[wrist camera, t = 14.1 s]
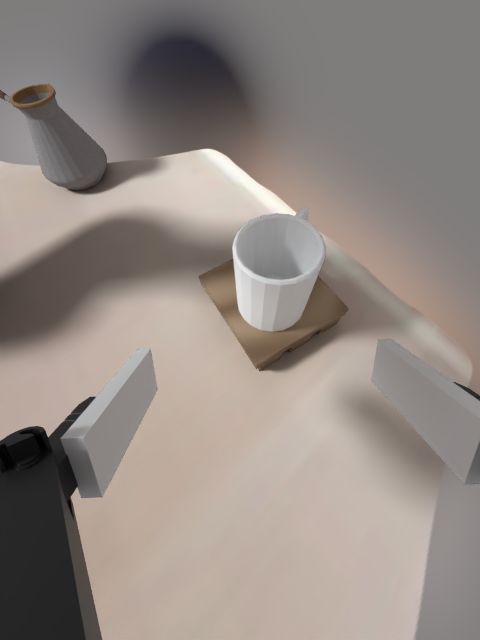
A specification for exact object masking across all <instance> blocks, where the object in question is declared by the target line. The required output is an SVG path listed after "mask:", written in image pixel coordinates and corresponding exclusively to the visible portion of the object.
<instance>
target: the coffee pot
mask: <svg viewBox="0 0 480 640" xmlns="http://www.w3.org/2000/svg"><path fill="white" fill-rule="evenodd" d="M55 94H56V93H55V90H54V88H53V87H52V86H51V85H50V84H40V85H32V86H28V87H25V88H22V89H20V90H19V91H17V92H15V93H14V94H13V95H12V96H11V97H9V96H8V95H6V94H5V93H4V92H2V91H1V90H0V97H1V98H2V99H4V100H6V101H8V102H9V103H11V104H12V105H13V106H14V107H16V108H18V109H19V110H20V111H21V112H22V113H23V114H24V115H25V116H26V119H27V122H28V125H29V128H30V132H31V136H32V139H33V142H34V146H35V149H36V153H37V156H38V159H39V163H40V166H41V170H42V173H43V175H44V176H45V177H46V178H47V179H48V180H49V181H51V182H52V183H54V184H56V185H58V186H61V187H65V188H69V189H72V190H82V189H87V188H90V187H92V186H94V185H95V184H97V183H98V182H99V181H100V180H101V179H102V177H103V174H104V171H105V169H106V166H107V159H106V154H105V152H104V150H103V149H102V148H101V147H100V146H99V145H98V144H97V143H96V142H95V141H94V140H93V139H92V138H91V137H90V136H89V135H88V134H87V133H86V132H84V130H83V129H82V128H80V126H79V125H77V124H76V123H75V122H74V121H73V120H72V119H71V118H70V117H69V116H68V115H67V114H66V113H65V112H64V111H63V110H62V109H61V108H60V107H59V106H58V104H57V101H56V99H55Z"/></svg>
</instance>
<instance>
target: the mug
mask: <svg viewBox="0 0 480 640" xmlns="http://www.w3.org/2000/svg"><path fill="white" fill-rule="evenodd" d="M307 221H308V208H306V207H302V209H301V210H299V212H298V213H297V214H296V215H295V216H292V215H289V214H278V213H276V214H268V215H263V216H260V217H257V218H255V219H252V220H250V221H249V222H248V223H246V224H245V225H244V226H242V227H241V228H240V230H239V231H238V233H237V234H236V235H235V238H234V242H233V246H232V250H233V261H234V272H235V282H236V293H237V302H238V309H239V312H240V313H241V315H242V317H243V319H244V320H245V321H246V322H248V323H249V324H250V325H251V326H253V327H255V328H257V329H259V330H262V331H269V332H275V331H282V330H285V329H287V328H289V327H291V326H293V325H294V324H295V323H296V322H297V321H298V320H299V319H300V317H301V315H302V313H303V311H304V309H305V306H306V304H307V301H308V299H309V296H310V294H311V291H312V289H313V286H314V284H315V282H316V279H317V277H318V274H319V272H320V269H321V267H322V264H323V262H324V259H325V249H326V246H325V243H324V240H323V238H322V235H321V234H320V233H319V232H318V231H317V229H316V228H315V227H314V226H313V225H311V224H310V223H308V222H307Z"/></svg>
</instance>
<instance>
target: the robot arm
mask: <svg viewBox="0 0 480 640" xmlns="http://www.w3.org/2000/svg"><path fill="white" fill-rule="evenodd" d="M372 382H373V383H374V384H375V385H376V386H377V388H378V389H379V390H380V391H381V392H382V393H383V394H384V395H385V397H386V398H387V399H388V400H389V401H390V402H391V403H392V404H393V406H394V407H395V408H396V409H397V410H398V411H399V412H400V413H401V414H402V416H403V417H404V418H405V419H406V420H407V421H408V422H409V423H410V425H411V426H412V427H413V428H414V429H415V430H416V431H417V432H418V433H419V435H420V436H421V437H422V438H423V439H424V440H425V441H426V442H427V444H428V445H429V446H430V447H431V448H432V449H433V450H434V451H435V452H436V454H437V455H438V456H439V457H440V458H441V459H442V460H443V461H444V463H445V464H446V465H447V466H448V467H449V468H450V469H451V470H452V471H453V473H454V474H455V475H456V476H457V477H458V478H459V479H460V480H461V482H462V483H463V484H480V396H479V395H478V394H476V393H475V392H473V391H472V390H470V389H469V388H467V387H464V386H462V385H460V384H458V383H456V382H452V381H450V380H449V379H448V378H446V377H445V376H443V375H442V374H440V373H439V372H438V371H436V370H435V369H433V368H432V367H430V366H429V365H428V364H426V363H425V362H423V361H422V360H420V359H419V358H418V357H416V356H415V355H413V354H412V353H410V352H409V351H408V350H406V349H405V348H403V347H402V346H400V345H399V344H398V343H396V342H395V341H393V340H392V339H385V340H378V343H377V350H376V356H375V363H374V369H373V376H372ZM157 390H158V388H157V383H156V377H155V371H154V366H153V360H152V354H151V349H137V350H136V352H135V353H134V354H133V355H132V356H131V357H130V359H129V360H128V361H127V362H126V363H125V364H124V366H123V367H122V368H121V369H120V370H119V371H118V372H117V374H116V375H115V376H114V377H113V378H112V379H111V381H110V382H109V383H108V384H107V385H106V386H105V388H104V389H103V390H102V391H101V392H100V393H99V394H98V396H97V397H89V398H88V399H86V400H85V401H83V402H82V403H80V404H79V405H78V406H77V407H76V408H75V409H74V410H73V411H72V412H71V414H70V415H69V416H68V417H67V418H66V419H65V421H64V422H62V423H61V424H60V425H59V427H58V428H57V429H56V430H55V431H54V432H53V433H52V434H51V435H50V436H49V437H47V434H46V431H45V430H44V428H43V427H39V426H34V427H28V428H25V429H21V430H19V431H17V432H14V433H12V434H10V435H9V436H7V437H6V438H4V439H3V440H1V441H0V640H102V637H101V632H100V627H99V623H98V618H97V614H96V609H95V604H94V600H93V595H92V590H91V586H90V581H89V577H88V572H87V567H86V563H85V558H84V554H83V549H82V544H81V540H80V535H79V531H78V526H77V521H76V517H75V512H74V507H73V503H72V500H71V498H70V497H71V496H72V494H73V492H74V491H75V489H76V488H77V487H78V490H79V492H80V495H81V498H94V497H103V495H104V493H105V491H106V489H107V487H108V485H109V483H110V481H111V479H112V477H113V475H114V473H115V471H116V470H117V468H118V466H119V464H120V462H121V460H122V458H123V456H124V454H125V452H126V450H127V448H128V446H129V444H130V442H131V440H132V438H133V436H134V435H135V433H136V431H137V429H138V427H139V425H140V423H141V421H142V419H143V417H144V415H145V413H146V411H147V409H148V407H149V405H150V403H151V401H152V400H153V398H154V396H155V394H156V392H157Z"/></svg>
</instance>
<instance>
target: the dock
mask: <svg viewBox="0 0 480 640" xmlns="http://www.w3.org/2000/svg"><path fill="white" fill-rule="evenodd" d="M199 279H200V282H201V284H202V286H203V287H204V289H205V290H206V292H207V293H208V295H209V296H210V298H211V299H212V301H213V303H214V304H215V306H216V307H217V309H218V310H219V312H220V313H221V315H222V316H223V318H224V320H225V321H226V323H227V324H228V326H229V327H230V329H231V330H232V332H233V333H234V335H235V337H236V338H237V340H238V341H239V343H240V344H241V346H242V347H243V349H244V350H245V352H246V353H247V355H248V357H249V358H250V360H251V361H252V363H253V364H254V366H255V367H256V369H257V368H258V369H259V371H260V370H262V369H264V368H265V367H267V366H269V365H270V364H272V363H273V362H275V361H277V360H278V359H280V357H281V354H282V353H283V352H285V351H286V350H288V351H289V352H291V351H293V350H295V349H296V348H298V347H299V346H301V345H303V344H304V343H306V342H307V341H309V340H310V338H311V336H312V334H314V333H317V334H318V335H319V334H320V333H322V332H324V331H325V330H327V329H329V328H330V327H332V326H333V325H335V324H337V322H338V321H339V319H340V318H341V317H342V316H343V315H345V313H346V312H347V311H348V308H347V307H346V306H345V305H344V303H343V302H342V301H341V300H340V299H339V298H338V297H337V296H336V295H335V294H334V293H333V292H332V291H331V289H330V288H329V287H328V286H327V285H326V284H325V283H324V282H323V281H322V280H321V279H320V278H319V276H318V277H317V279H316V282H315V284H314V286H313V289H312V291H311V294H310V296H309V299H308V301H307V304H306V306H305V309H304V311H303V313H302V315H301V317H300V319H299V320H298V321H297V322H296V323H295V324H294V325H293V326H291V327H289V328H287V329H285V330H282V331H275V332H269V331H262V330H259V329H257V328H255V327H253V326H251V325H250V324H249V323H248V322H246V321H245V320H244V319H243V317H242V315H241V313H240V312H239V309H238V302H237V293H236V282H235V272H234V261H233V259H232V260H230V261H228V262H226V263H224V264H222V265H220V266H218V267H216V268H214V269H212V270H210V271H208V272H206V273H204V274H202V275H200V276H199Z"/></svg>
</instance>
